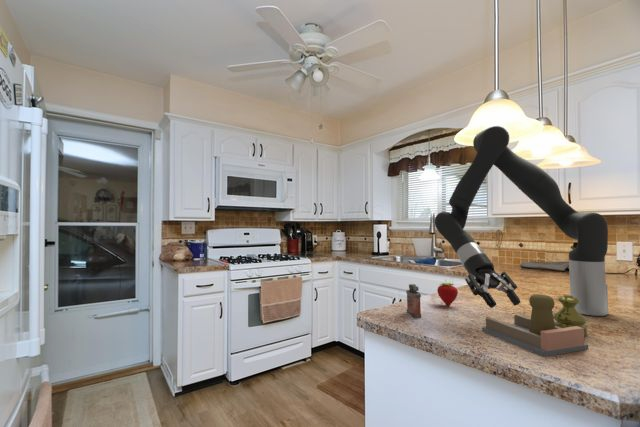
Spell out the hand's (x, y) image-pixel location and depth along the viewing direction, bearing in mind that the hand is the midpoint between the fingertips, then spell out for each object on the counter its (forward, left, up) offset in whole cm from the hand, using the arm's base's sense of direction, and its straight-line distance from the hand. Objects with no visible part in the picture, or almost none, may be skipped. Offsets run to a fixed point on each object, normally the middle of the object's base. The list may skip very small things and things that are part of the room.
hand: (505, 305), depth 89 cm
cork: (0, +11, -6) cm, 12 cm away
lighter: (+16, -22, -7) cm, 28 cm away
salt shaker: (-15, +6, -7) cm, 18 cm away
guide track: (0, +7, -7) cm, 10 cm away
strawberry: (-2, -28, -7) cm, 29 cm away
